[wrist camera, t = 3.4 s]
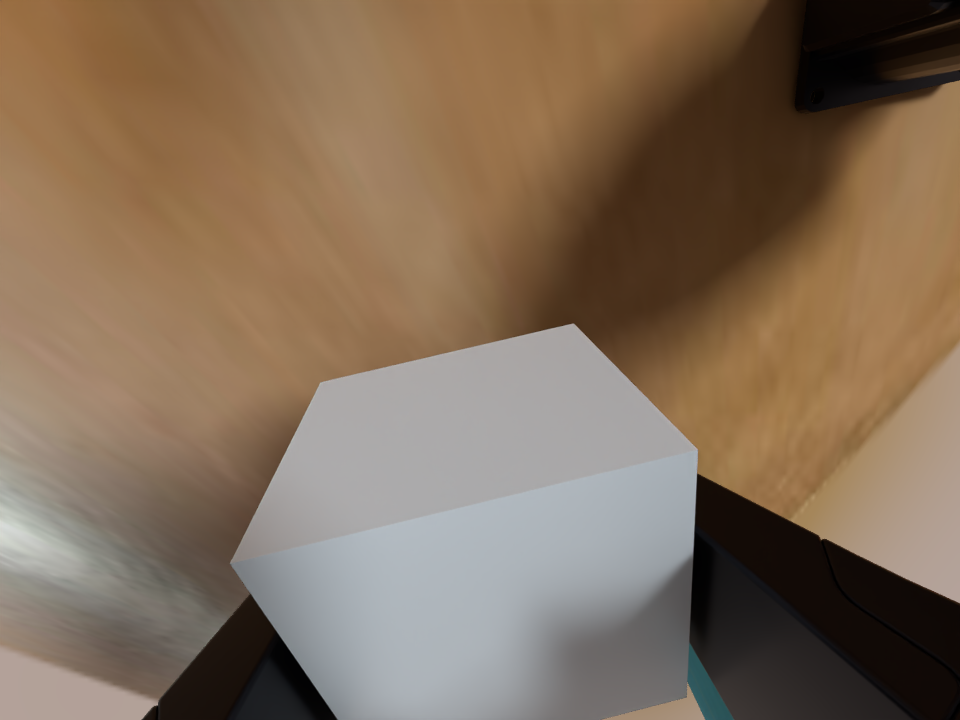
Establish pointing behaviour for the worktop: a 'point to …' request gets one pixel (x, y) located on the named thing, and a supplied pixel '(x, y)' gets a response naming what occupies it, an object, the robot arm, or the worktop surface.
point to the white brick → (482, 538)
